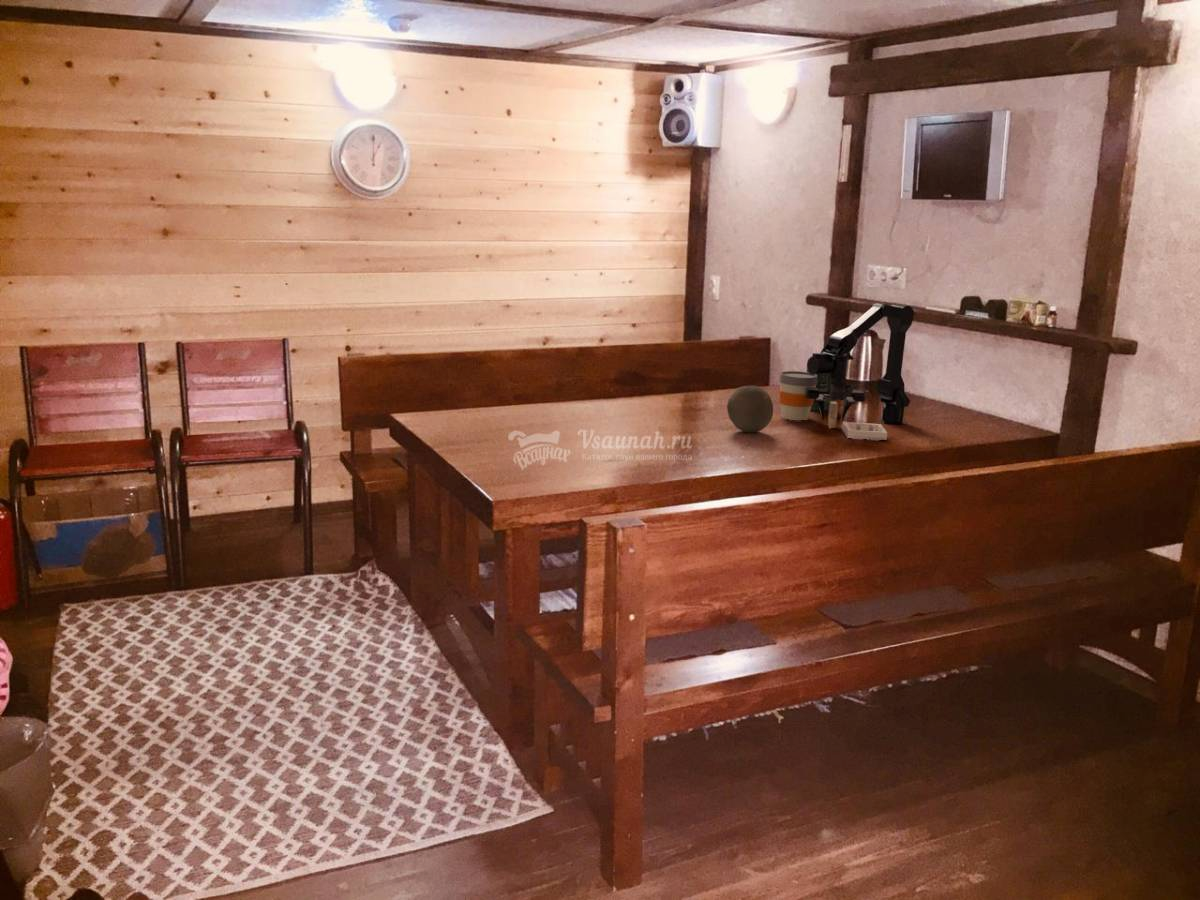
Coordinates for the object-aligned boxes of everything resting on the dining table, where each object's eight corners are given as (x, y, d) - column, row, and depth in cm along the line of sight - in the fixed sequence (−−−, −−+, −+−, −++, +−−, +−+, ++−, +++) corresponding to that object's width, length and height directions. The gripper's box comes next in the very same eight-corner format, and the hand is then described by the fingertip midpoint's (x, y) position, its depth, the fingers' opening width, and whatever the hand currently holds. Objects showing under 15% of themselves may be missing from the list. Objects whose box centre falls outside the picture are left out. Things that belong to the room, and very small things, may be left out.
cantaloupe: (733, 425, 321) (737, 379, 317) (776, 431, 315) (780, 385, 311) (719, 434, 309) (722, 386, 305) (763, 440, 303) (767, 392, 299)
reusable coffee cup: (801, 413, 343) (806, 370, 339) (820, 421, 332) (825, 377, 328) (769, 414, 339) (773, 371, 335) (787, 422, 328) (791, 378, 324)
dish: (879, 431, 321) (880, 422, 320) (886, 441, 309) (887, 431, 309) (842, 429, 322) (843, 420, 321) (847, 438, 310) (848, 428, 310)
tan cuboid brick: (833, 425, 327) (836, 401, 325) (835, 428, 323) (838, 404, 321) (827, 425, 327) (830, 401, 325) (829, 428, 323) (831, 404, 321)
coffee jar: (832, 411, 348) (838, 359, 343) (812, 412, 346) (818, 359, 341) (818, 405, 357) (823, 354, 352) (799, 406, 354) (804, 355, 350)
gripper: (810, 376, 313) (806, 424, 317) (870, 379, 312) (865, 427, 316) (807, 369, 324) (802, 416, 328) (865, 373, 323) (859, 420, 327)
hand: (832, 420), depth 324 cm, fingers open, 6 cm apart
